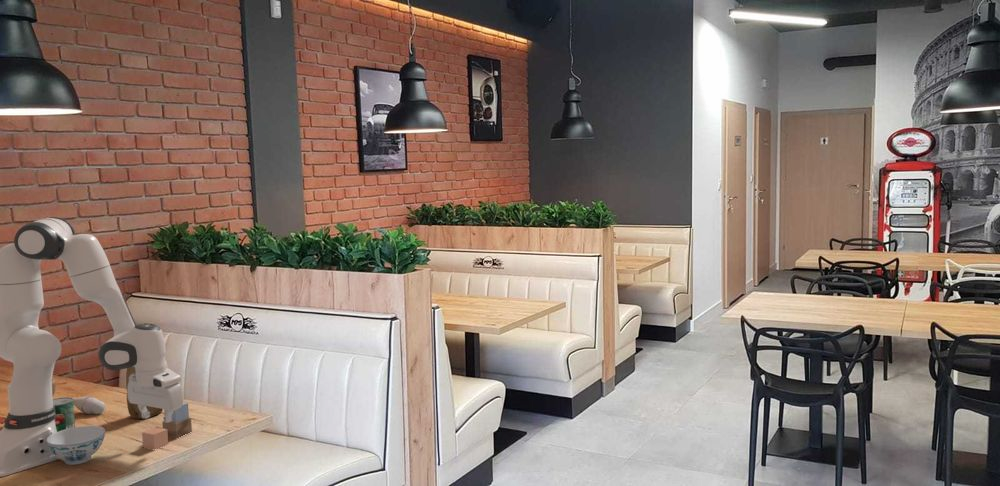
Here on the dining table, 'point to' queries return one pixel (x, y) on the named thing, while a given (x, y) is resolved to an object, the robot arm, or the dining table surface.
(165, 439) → the cube
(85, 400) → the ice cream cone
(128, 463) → the dining table surface
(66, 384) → the dining table surface
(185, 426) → the tower base
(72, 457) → the chinaware
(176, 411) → the tower mid
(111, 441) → the dining table surface
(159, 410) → the brown oval lump
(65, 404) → the canned tomato
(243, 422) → the dining table surface
